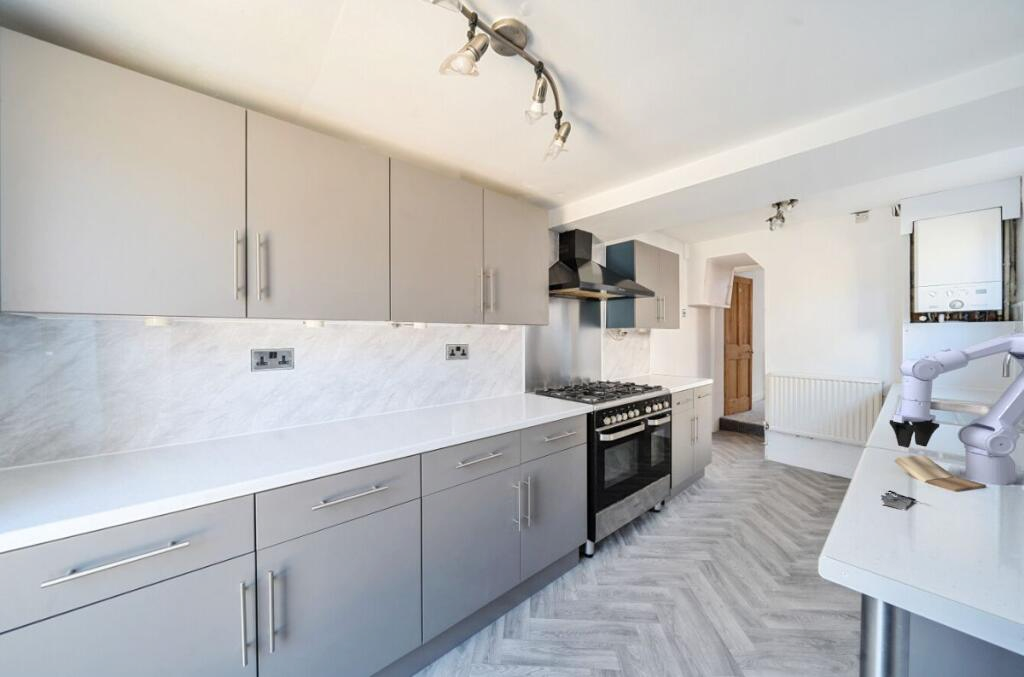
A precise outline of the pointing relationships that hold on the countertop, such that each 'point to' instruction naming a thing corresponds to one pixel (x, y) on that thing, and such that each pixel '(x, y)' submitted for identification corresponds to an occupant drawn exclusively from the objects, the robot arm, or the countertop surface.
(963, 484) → the floor row
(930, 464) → the plank
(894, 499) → the driftwood
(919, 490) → the countertop surface
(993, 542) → the countertop surface
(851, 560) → the countertop surface
